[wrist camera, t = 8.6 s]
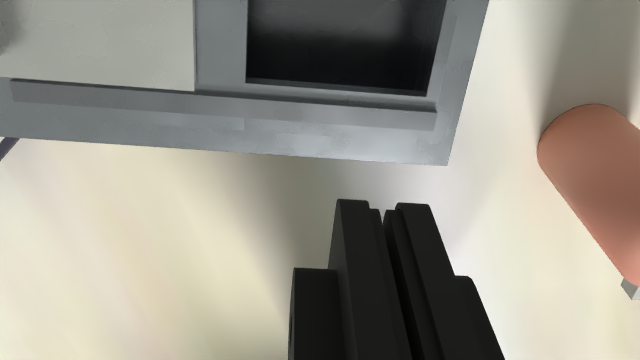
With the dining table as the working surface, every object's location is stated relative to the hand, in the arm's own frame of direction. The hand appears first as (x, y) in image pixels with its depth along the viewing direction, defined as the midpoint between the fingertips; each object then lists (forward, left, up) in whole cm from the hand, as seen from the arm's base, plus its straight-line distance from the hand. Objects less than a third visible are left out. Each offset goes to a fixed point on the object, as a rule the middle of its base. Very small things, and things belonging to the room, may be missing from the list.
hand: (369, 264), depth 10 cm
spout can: (-15, +6, -19) cm, 25 cm away
